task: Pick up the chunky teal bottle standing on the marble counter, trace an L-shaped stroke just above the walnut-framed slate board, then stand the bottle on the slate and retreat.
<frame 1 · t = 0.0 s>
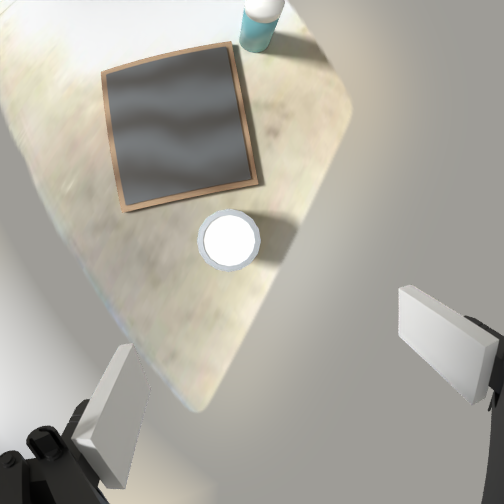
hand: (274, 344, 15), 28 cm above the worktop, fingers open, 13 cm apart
teal bottle: (254, 40, 36), on the worktop
white tapered cup: (227, 230, 42), on the worktop
slate board: (175, 123, 38), on the worktop
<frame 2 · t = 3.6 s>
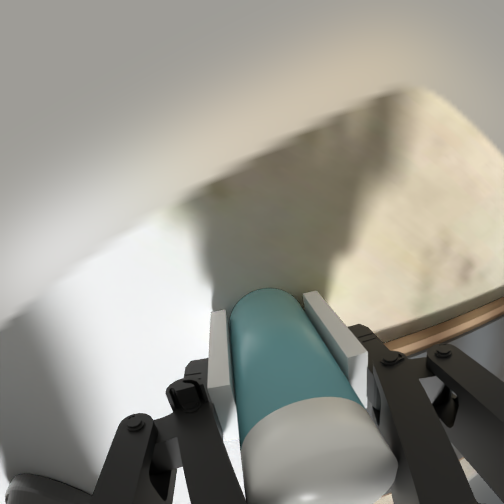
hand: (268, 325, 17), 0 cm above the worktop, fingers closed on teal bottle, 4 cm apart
teal bottle: (267, 323, 17), on the worktop, touching gripper
slate board: (414, 423, 20), on the worktop
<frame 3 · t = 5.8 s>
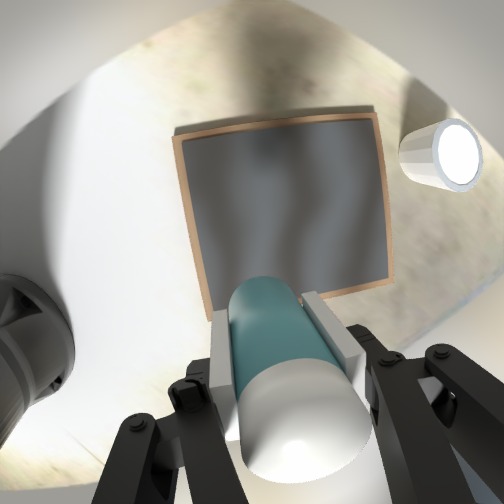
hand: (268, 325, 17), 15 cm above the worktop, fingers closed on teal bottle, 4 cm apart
teal bottle: (262, 308, 19), point 12 cm above the worktop, touching gripper
white tapered cup: (418, 157, 30), on the worktop
slate board: (293, 212, 30), on the worktop
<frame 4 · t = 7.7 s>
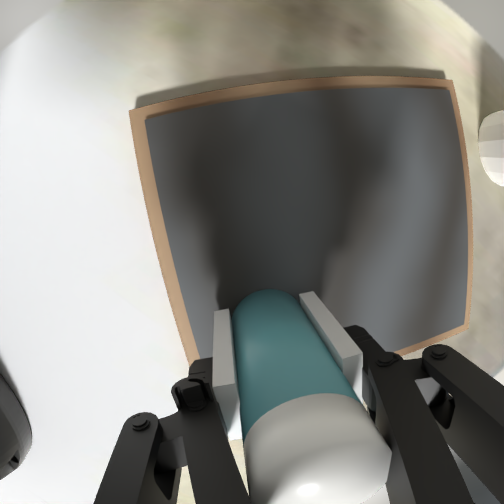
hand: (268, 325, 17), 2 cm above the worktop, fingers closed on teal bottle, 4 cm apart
teal bottle: (268, 323, 17), point 1 cm above the worktop, touching gripper
white tapered cup: (498, 149, 18), on the worktop
slate board: (337, 235, 18), on the worktop
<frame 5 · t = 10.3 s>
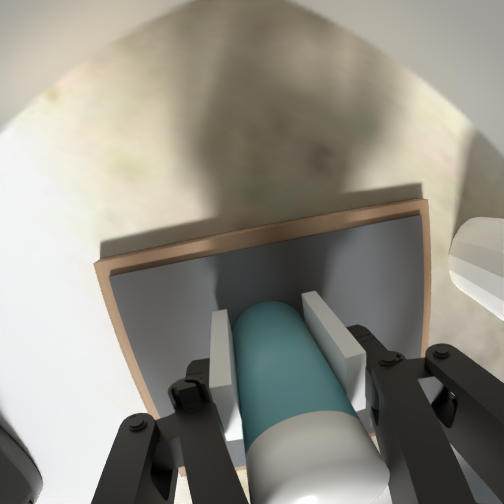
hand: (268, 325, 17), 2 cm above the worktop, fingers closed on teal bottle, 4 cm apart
teal bottle: (269, 334, 17), point 1 cm above the worktop, touching gripper
white tapered cup: (472, 253, 20), on the worktop
slate board: (290, 361, 20), on the worktop
when the fingers open (2 cm above the worktop, at t = 11.8 s): teal bottle stays where it is, resting on slate board.
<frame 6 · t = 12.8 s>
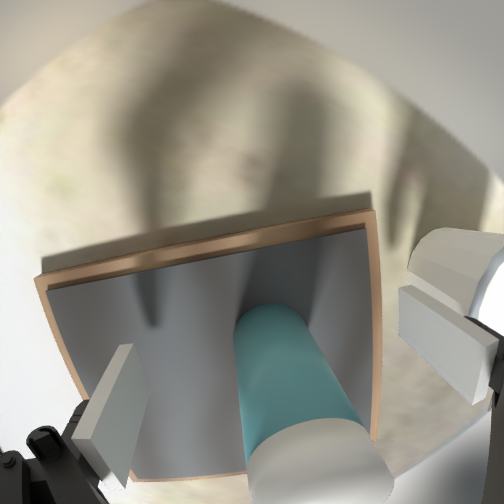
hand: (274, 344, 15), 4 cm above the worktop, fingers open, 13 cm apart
teal bottle: (270, 337, 17), point 1 cm above the worktop, touching slate board
white tapered cup: (437, 268, 19), on the worktop
slate board: (227, 379, 19), on the worktop
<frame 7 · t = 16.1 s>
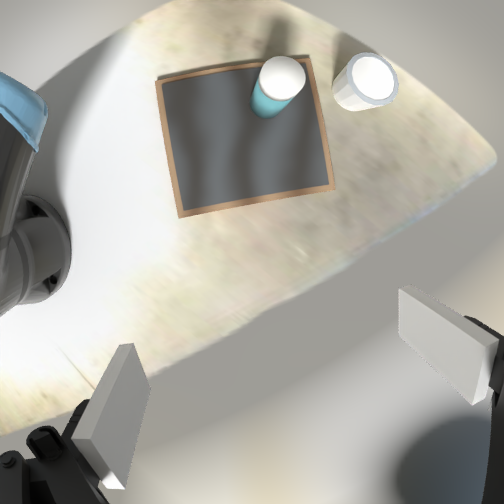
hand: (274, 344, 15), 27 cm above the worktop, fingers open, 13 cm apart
teal bottle: (266, 103, 36), point 1 cm above the worktop, touching slate board
white tapered cup: (350, 91, 38), on the worktop
slate board: (245, 132, 38), on the worktop
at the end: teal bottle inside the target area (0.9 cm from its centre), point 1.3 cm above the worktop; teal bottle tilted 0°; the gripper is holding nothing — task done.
